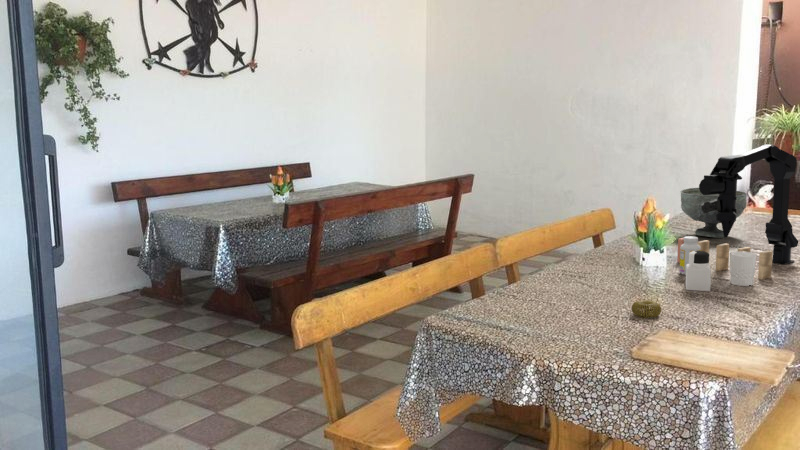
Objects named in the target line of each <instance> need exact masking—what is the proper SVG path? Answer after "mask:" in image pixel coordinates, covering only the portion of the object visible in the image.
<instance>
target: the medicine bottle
mask: <svg viewBox="0 0 800 450" xmlns="http://www.w3.org/2000/svg"><path fill="white" fill-rule="evenodd" d="M711 279H712V269H711V265H710V252H709V253H707V252H704V251H692V252H690V253H689V264H686V275H685V290H686V291H695V292H696V291H697V292H700V291H701V292H710V291H711V284H712V283H711V281H712V280H711Z"/></svg>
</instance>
